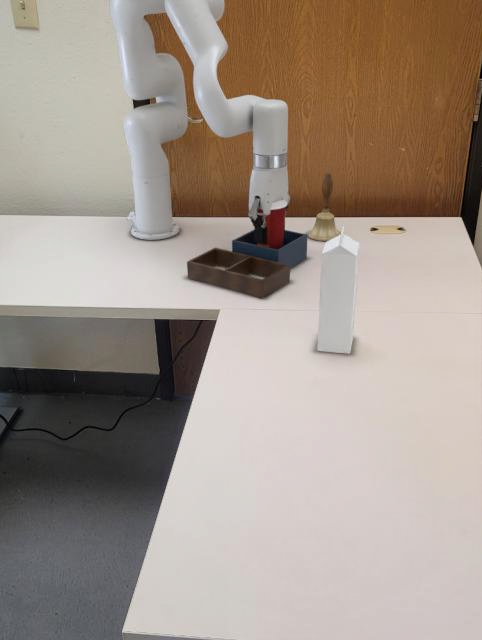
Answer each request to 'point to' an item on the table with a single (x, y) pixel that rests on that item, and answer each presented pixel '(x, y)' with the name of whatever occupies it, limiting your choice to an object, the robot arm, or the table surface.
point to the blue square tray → (288, 254)
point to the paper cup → (275, 224)
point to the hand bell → (325, 215)
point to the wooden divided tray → (239, 272)
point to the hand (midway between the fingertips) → (269, 237)
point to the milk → (338, 294)
